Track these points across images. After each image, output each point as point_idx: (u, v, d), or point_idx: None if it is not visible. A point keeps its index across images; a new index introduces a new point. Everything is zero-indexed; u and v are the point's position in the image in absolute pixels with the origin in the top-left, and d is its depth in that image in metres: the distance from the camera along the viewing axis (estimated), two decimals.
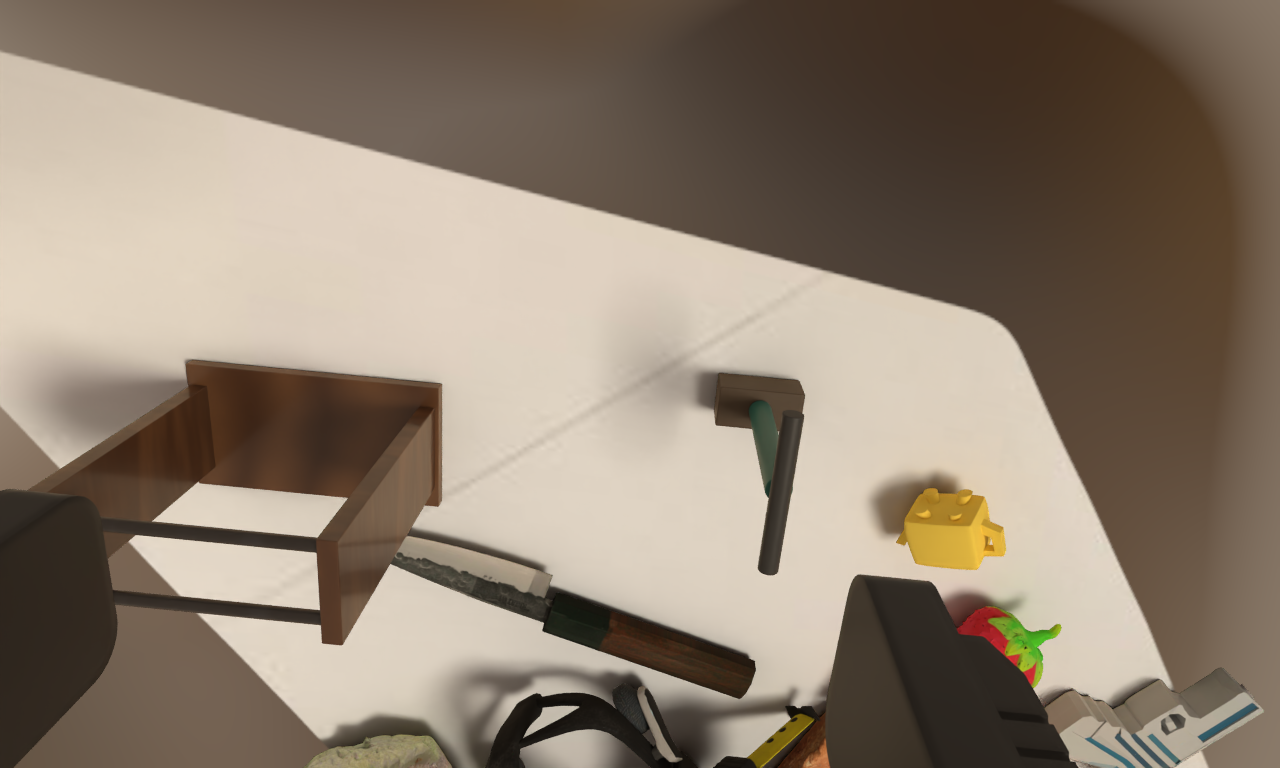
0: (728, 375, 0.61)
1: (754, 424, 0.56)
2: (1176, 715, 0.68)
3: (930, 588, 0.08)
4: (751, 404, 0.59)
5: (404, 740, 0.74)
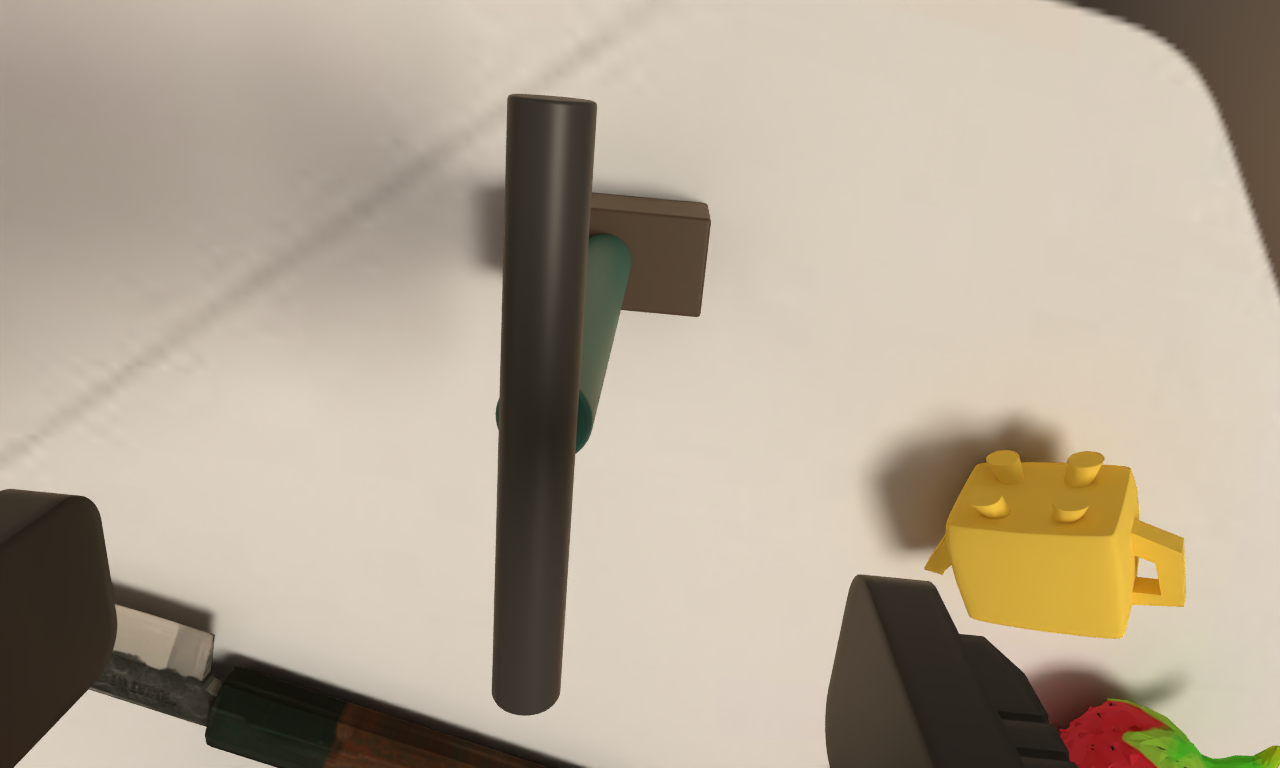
0: None
1: None
2: None
3: (930, 588, 0.08)
4: None
5: None
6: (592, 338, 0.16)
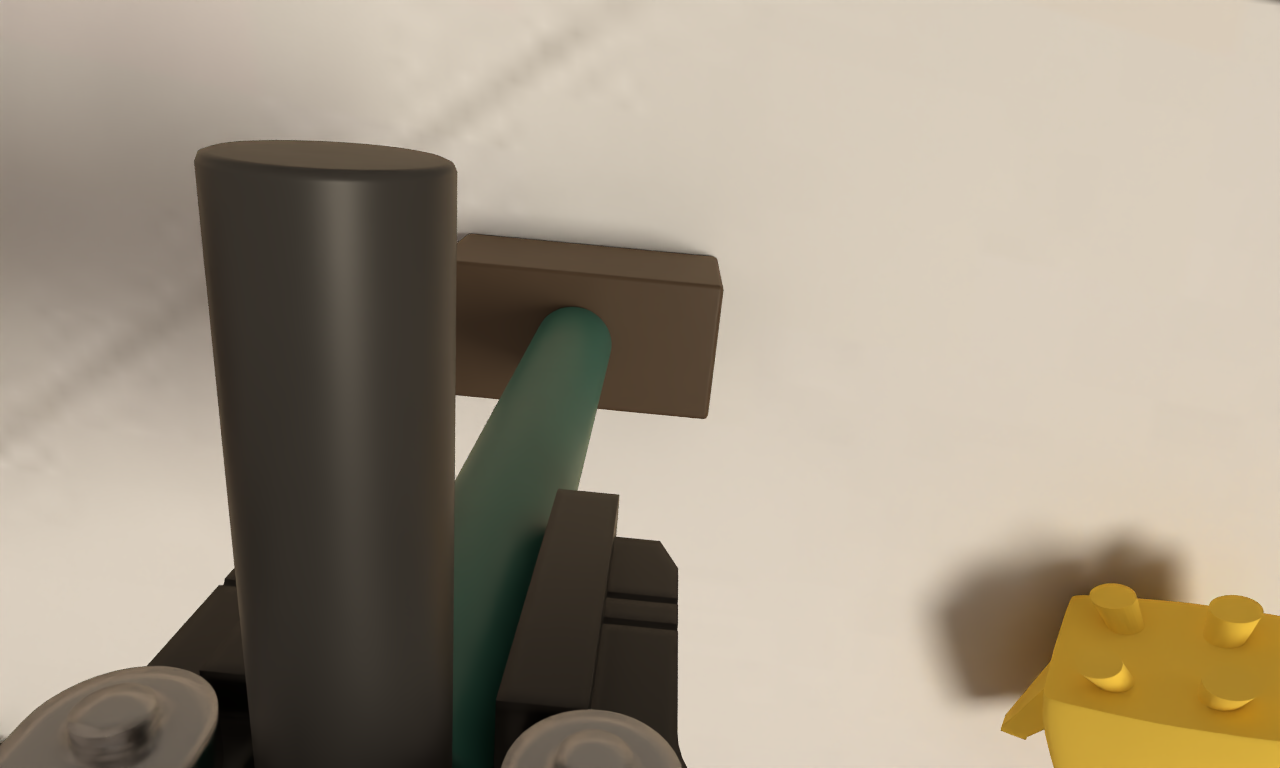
0: (490, 239, 0.19)
1: (509, 381, 0.14)
2: None
3: (611, 498, 0.09)
4: (544, 320, 0.17)
5: None
6: (519, 565, 0.09)
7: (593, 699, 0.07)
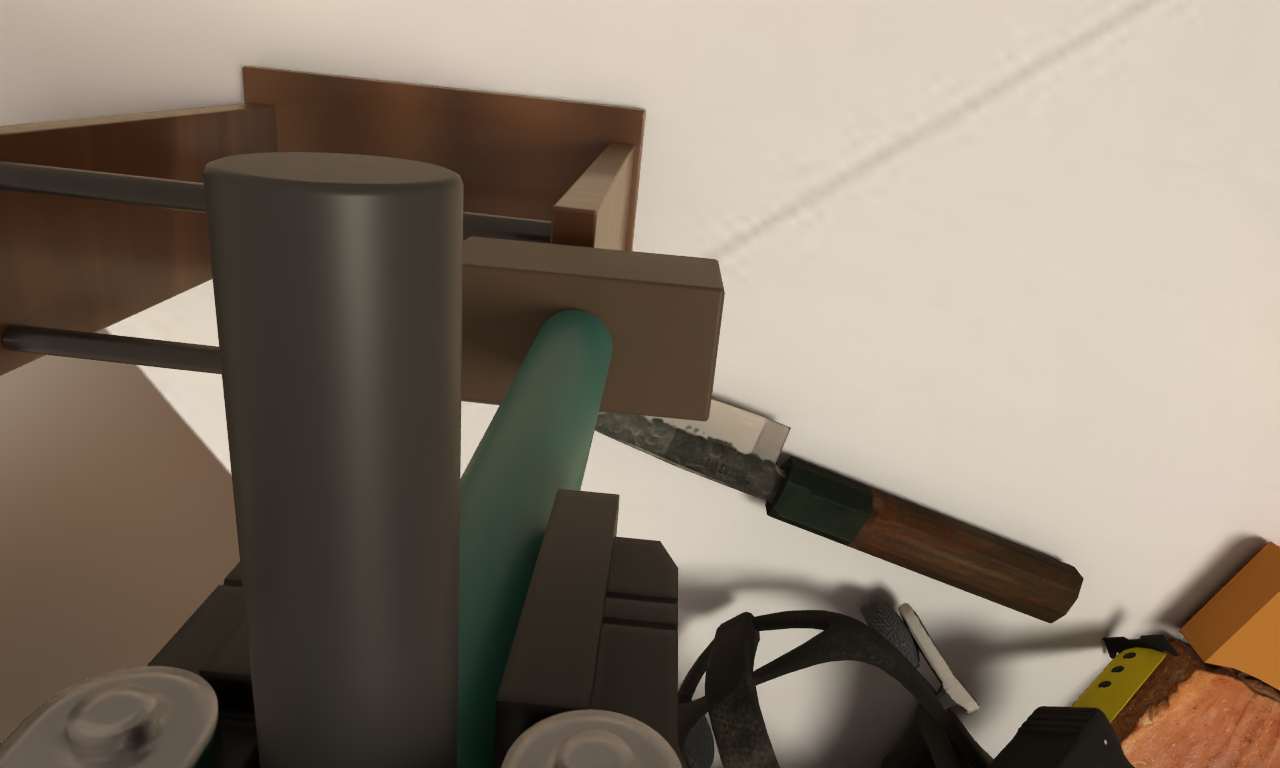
0: (492, 242, 0.19)
1: (511, 384, 0.14)
2: None
3: (612, 498, 0.09)
4: (546, 323, 0.18)
5: None
6: (522, 570, 0.09)
7: (593, 699, 0.07)
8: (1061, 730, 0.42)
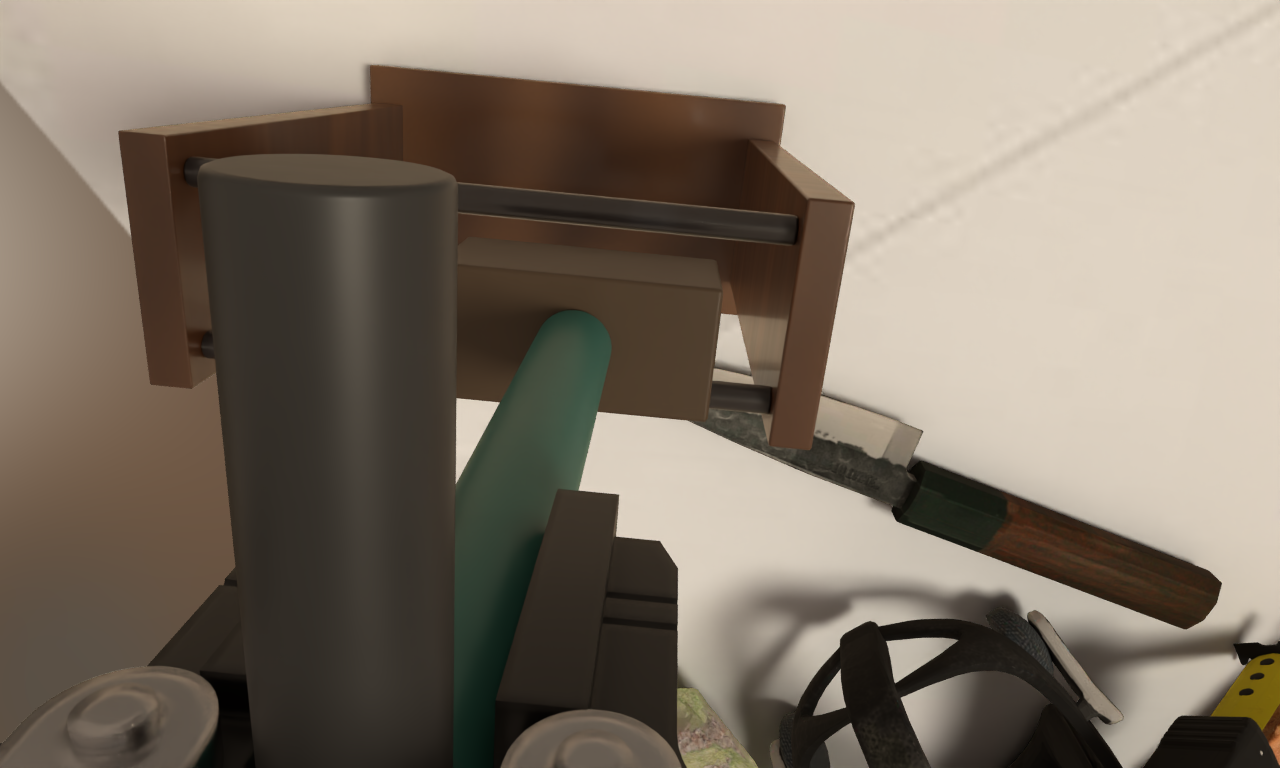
0: (491, 242, 0.19)
1: (509, 384, 0.14)
2: None
3: (611, 499, 0.09)
4: (545, 323, 0.18)
5: None
6: (520, 571, 0.09)
7: (593, 699, 0.07)
8: (1213, 741, 0.41)
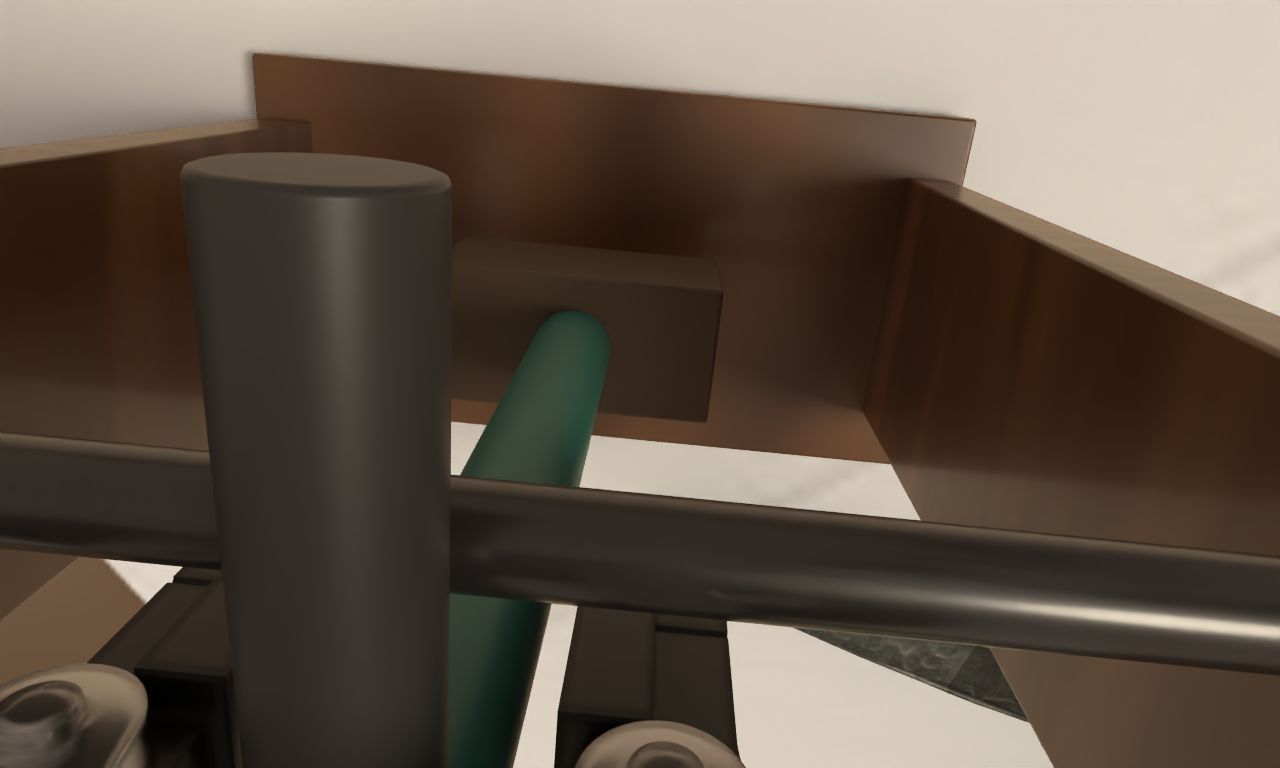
0: (489, 242, 0.19)
1: (507, 386, 0.14)
2: None
3: None
4: (543, 323, 0.17)
5: None
6: None
7: None
8: None
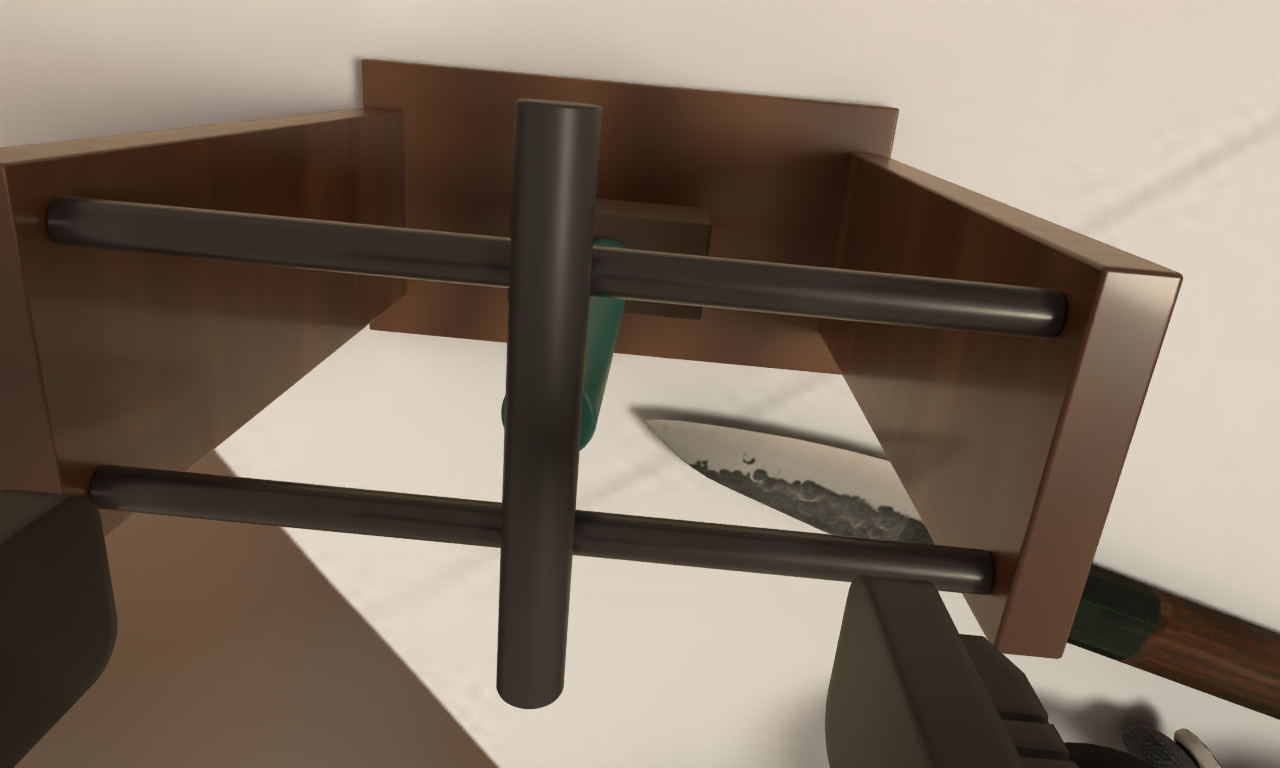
0: None
1: None
2: None
3: (930, 588, 0.08)
4: None
5: None
6: (595, 338, 0.16)
7: None
8: None
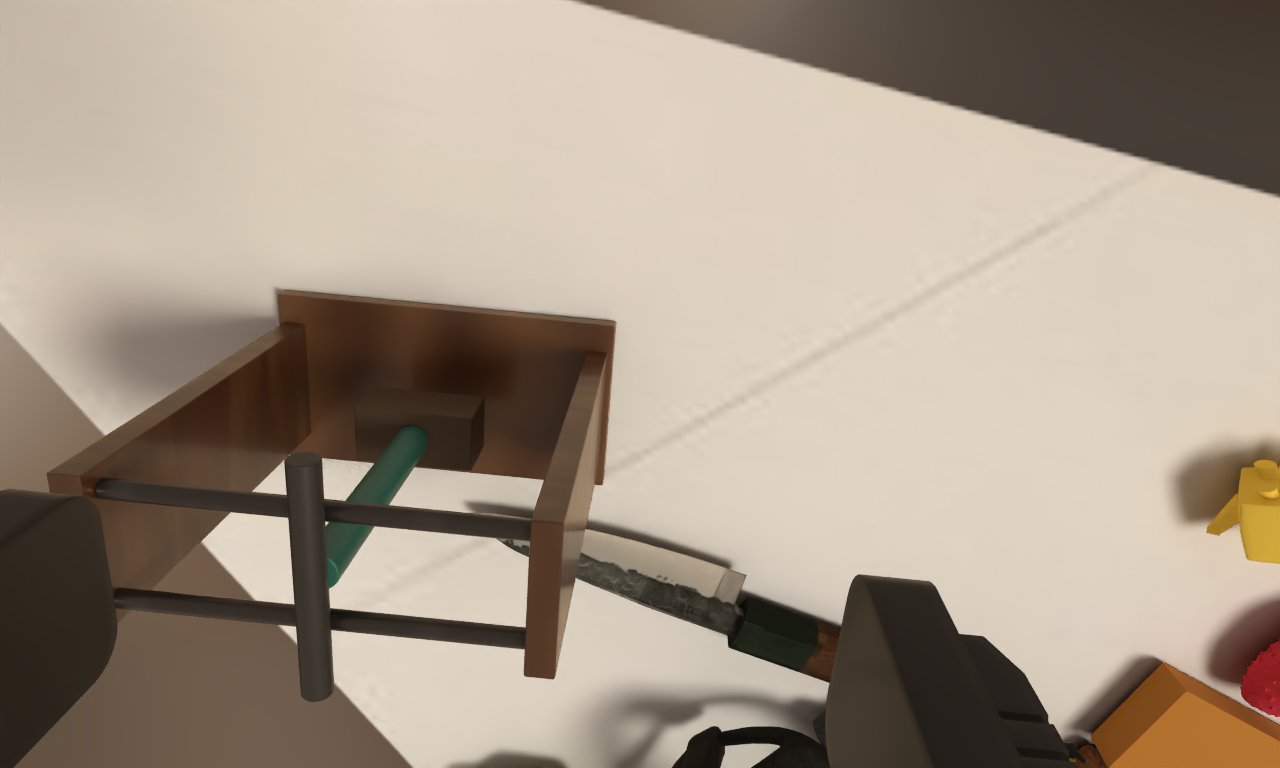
0: (382, 391, 0.44)
1: None
2: None
3: (930, 588, 0.08)
4: (400, 431, 0.42)
5: None
6: None
7: None
8: None
